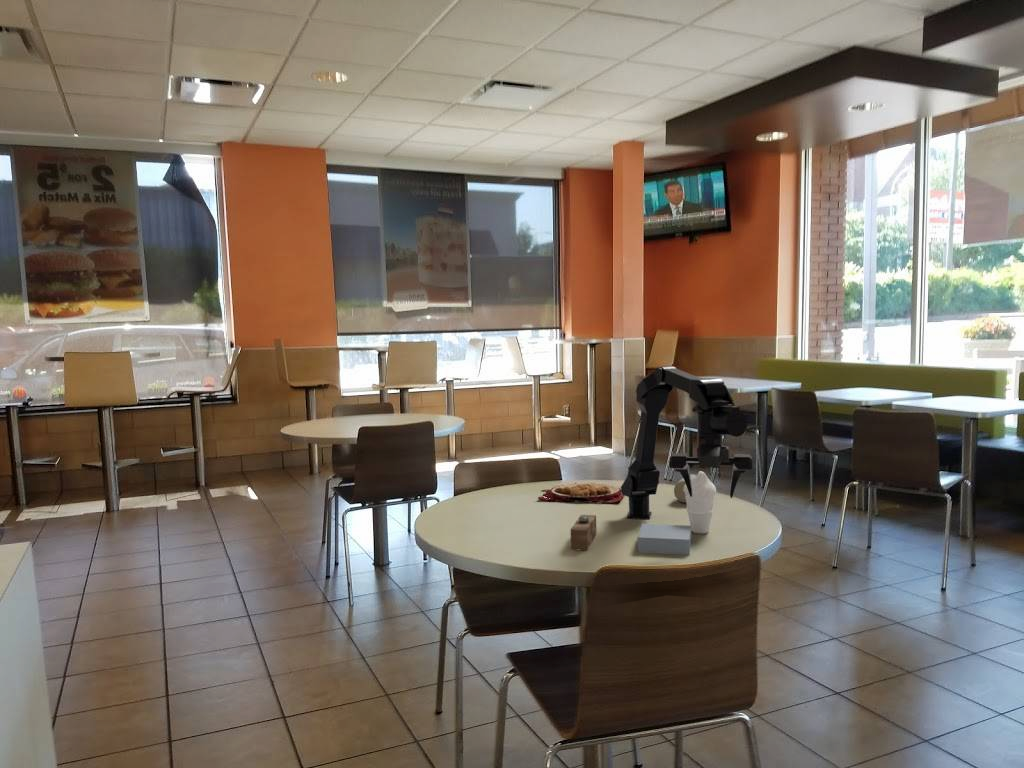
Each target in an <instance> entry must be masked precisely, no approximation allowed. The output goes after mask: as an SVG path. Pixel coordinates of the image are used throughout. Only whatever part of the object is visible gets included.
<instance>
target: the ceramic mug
mask: <svg viewBox="0 0 1024 768" xmlns="http://www.w3.org/2000/svg"><path fill="white" fill-rule="evenodd" d="M695 476H697V474H694V473H693V474H692V473H690V477H691V478H693V477H695ZM685 484H686V483H685V481H684V478H683V477H682V478H681V479H680V480H679V481H677V483H676V484H675V486H674V488H673V494H674V496H675V499H677V501H679V502H681V503H683V504H687V503H686V499H685V492H684V491H683V489H684V485H685Z"/></svg>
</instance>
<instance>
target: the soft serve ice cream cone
mask: <svg viewBox="0 0 1024 768" xmlns="http://www.w3.org/2000/svg"><path fill="white" fill-rule="evenodd" d="M691 485H692V497H690V494H689V492H688V489H687V486H686V484H685V485H684V489H683V491H684V492H685V499H686V503H685V504H686V512H687V516H688V521H689V524H690V525H689V526H691V533H694V534H707V533H709V532H710V525H711V520H712V515H713V513H714V508H713V507H714V500H715V496H716V494H717V488H716V486H715V485H714V483H713V482H712V481H711V480H710V479H709V477H708V476H707V475H706V473H705V472H704V471H701V470H699V472H698V473H697V474H696V476H695V477H693V478H691Z"/></svg>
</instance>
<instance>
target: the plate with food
mask: <svg viewBox="0 0 1024 768" xmlns="http://www.w3.org/2000/svg"><path fill="white" fill-rule="evenodd" d="M540 492H543V493H542V496H545V497H547V498H544V497H542V496H538V497H537V499H538V500H541V501H545V502H546V501H555V502H556V501H557V502H558V503H559V502H561V501H565V502H569V501H570V502H573V499H570V498H579V499H580V498H582V499H586V500H588V501H586V500H585V501H584V503H589V504H598V505H599V504H611V503H618V502H621V501H622V499H623V498H624V497H626V496H625V495H622V492H621V487H618V486H614V485H610V484H606V483H605V484H604V483H596V482H595V483H593V482H584V483H583V482H579V483H577V482H575V483H568V484H562V485H558V486H556V487H555V486H554V487H552V488H550V489H548V488H547V489H541V490H540ZM547 493H548V494H547ZM549 498H550V499H549ZM574 502H575V503H576V502H577V503H578V502H579V500H574Z"/></svg>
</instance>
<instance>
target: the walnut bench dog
mask: <svg viewBox="0 0 1024 768" xmlns="http://www.w3.org/2000/svg"><path fill="white" fill-rule="evenodd" d="M596 536H597V515H596V514H595V515H594V514H593V515H592V514H580V515H579V517H578V518H577V520H576V521H575V522H574V524H573V525H572V526H571V528H570V550H571V549H580V550H579V551H588V550H589V549H590V547H591V545H592V543H593V541H594V539H595V538H596ZM589 546H590V547H589Z"/></svg>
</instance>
